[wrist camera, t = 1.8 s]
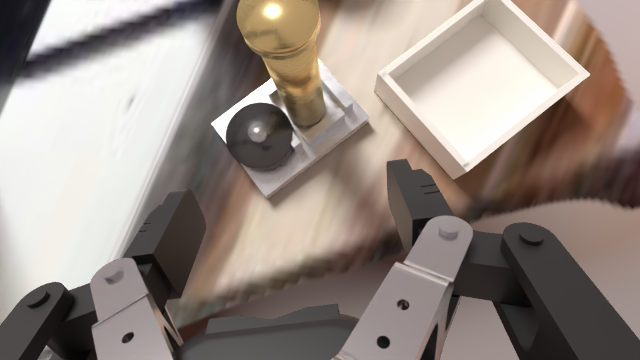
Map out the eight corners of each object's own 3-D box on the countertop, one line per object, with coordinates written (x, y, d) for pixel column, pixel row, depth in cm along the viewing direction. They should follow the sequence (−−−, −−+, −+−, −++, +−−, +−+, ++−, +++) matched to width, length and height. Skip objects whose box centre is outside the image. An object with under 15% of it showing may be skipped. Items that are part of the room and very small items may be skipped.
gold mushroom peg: (300, 140, 30) (268, 65, 17) (272, 104, 31) (220, 7, 18) (340, 110, 30) (336, 15, 17) (310, 75, 31) (286, -40, 18)
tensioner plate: (268, 198, 30) (258, 193, 27) (215, 127, 32) (201, 114, 29) (368, 121, 31) (371, 107, 28) (311, 56, 33) (308, 35, 29)
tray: (452, 180, 29) (467, 172, 26) (374, 91, 32) (377, 72, 28) (562, 93, 30) (590, 74, 27) (478, 12, 32) (493, -15, 29)
